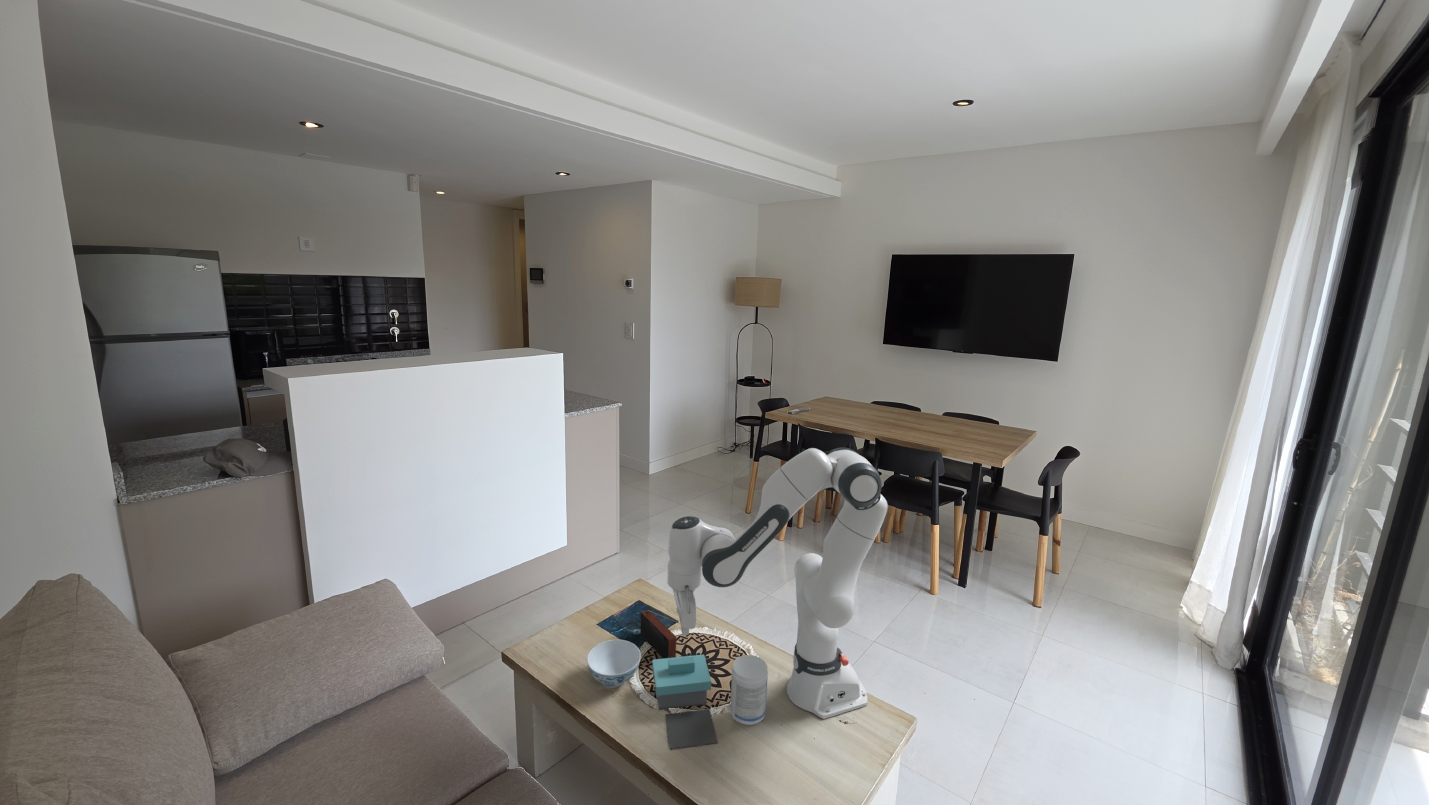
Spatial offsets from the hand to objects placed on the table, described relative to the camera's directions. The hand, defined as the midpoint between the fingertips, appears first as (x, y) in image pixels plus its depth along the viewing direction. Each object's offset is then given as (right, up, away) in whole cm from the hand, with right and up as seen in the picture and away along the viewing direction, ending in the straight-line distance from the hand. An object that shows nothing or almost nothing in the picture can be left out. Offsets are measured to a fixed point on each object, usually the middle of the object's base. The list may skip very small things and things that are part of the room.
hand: (682, 622), depth 153 cm
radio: (-9, -18, +24) cm, 31 cm away
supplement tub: (+18, -25, +1) cm, 30 cm away
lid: (-1, -17, +4) cm, 18 cm away
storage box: (-1, -23, +6) cm, 23 cm away
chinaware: (-20, -21, +11) cm, 31 cm away
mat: (+2, -26, -5) cm, 26 cm away
